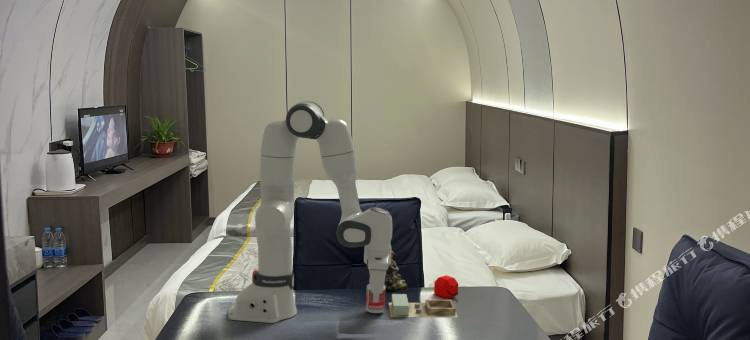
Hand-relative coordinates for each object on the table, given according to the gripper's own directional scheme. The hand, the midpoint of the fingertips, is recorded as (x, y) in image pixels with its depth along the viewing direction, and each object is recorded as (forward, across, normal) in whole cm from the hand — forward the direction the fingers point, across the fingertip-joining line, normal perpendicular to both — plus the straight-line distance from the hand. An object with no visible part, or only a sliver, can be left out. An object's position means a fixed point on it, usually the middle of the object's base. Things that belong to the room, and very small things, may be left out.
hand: (375, 298), depth 222 cm
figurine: (+6, -28, +7) cm, 30 cm away
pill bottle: (+4, 0, 0) cm, 4 cm away
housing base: (+6, -3, +16) cm, 17 cm away
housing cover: (+5, -3, +8) cm, 10 cm away
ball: (+6, -19, +26) cm, 33 cm away
